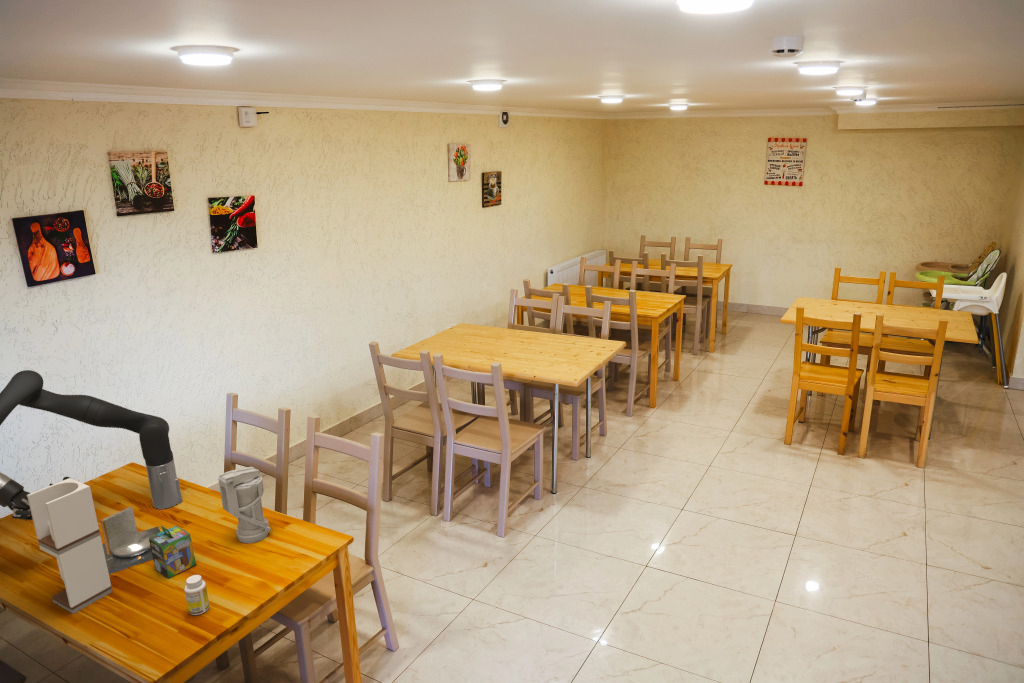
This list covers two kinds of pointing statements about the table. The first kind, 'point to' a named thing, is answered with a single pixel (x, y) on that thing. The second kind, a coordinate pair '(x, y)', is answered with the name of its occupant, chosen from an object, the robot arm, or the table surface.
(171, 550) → the chalk box
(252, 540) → the gray strapped canister
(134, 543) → the dial
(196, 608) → the supplement bottle
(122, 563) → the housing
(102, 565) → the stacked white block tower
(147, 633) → the table surface
